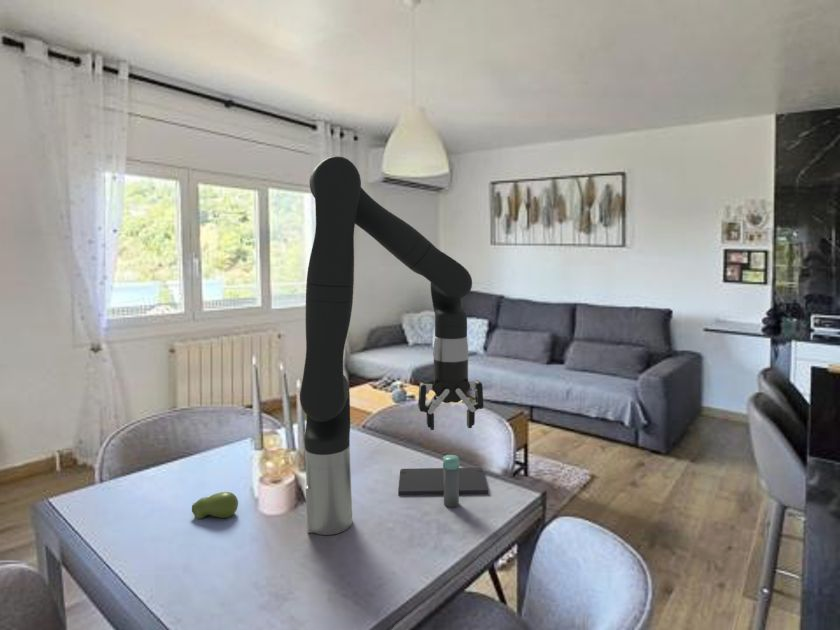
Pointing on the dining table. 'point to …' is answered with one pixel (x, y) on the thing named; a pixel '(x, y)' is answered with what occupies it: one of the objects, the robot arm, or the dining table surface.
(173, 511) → the dining table surface
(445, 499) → the marker
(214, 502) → the pear
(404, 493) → the notebook
